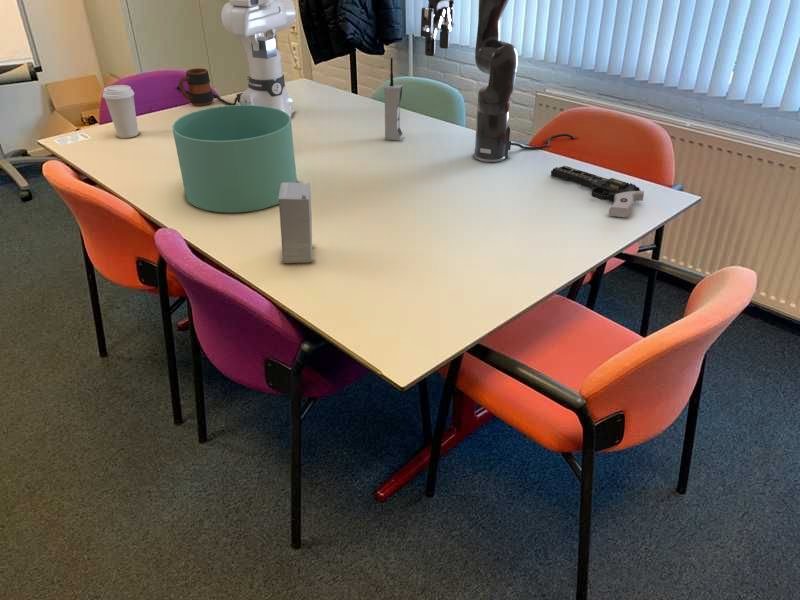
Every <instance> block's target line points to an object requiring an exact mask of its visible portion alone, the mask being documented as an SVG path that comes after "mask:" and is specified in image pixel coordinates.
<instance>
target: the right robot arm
mask: <svg viewBox="0 0 800 600" xmlns="http://www.w3.org/2000/svg"><path fill="white" fill-rule="evenodd" d="M427 1H428V3H427V7H422V8H421V12H420V13H421V15H420V37H422V38H424V39H425V40H424V43H425V44H424V45H425V46H424V48H425V49H424V50H425V51H424V54H425V56H426V57H434V56H435V55H436V41H437V39H436V37H437V34H438V31H439V48H441V49H449V48H450V37H451V36H450V32H452V28H454V27H455V11H456V9H455V7H456V5H455V4H456V2H455V0H427ZM509 1H510V0H478V11H477V13H478V15H477V28H476V29H477V30H476V40H475V49H474V60H475V61H474V62H475V65H476V67H477V69H478V70H479V71H480V72H481V73H484V74H487V75H489V77H488V78H489V79H488V84H487V85H486V86H482V87H480V88H479V89H478V94H477V108H476V125H475V139H474V141H475V142H474V153H473V158H474V159H476V160H477V161H481V162H484V163H497V162H502V161H504V160H505V159H508V158H509V151H511V149H512V146H516V147H519V148H520V149H522V150H543V149H546V148H549V146H550V140H553V139H557V138H560V137H568V138H571V139H572V140H576V138H575V137H574V135H572V134H569V133H560V134H559V133H558V134H555V135H551V136H549V137H547V138H546V140H545V141H546V144H544V145H540V146H524V145H522V144H520V143H518V142H512V141H511V140H510V137H511V136H510V135H511V127H510V125H509V117H510V107H511V106H510V105H511V96H512V94H513V93H514V90H515V85H516V78H517V71H518V64H519V57H518V56H519V55H518V51H517V48H516V47H515V45H513V44H512V43H510V42H506V41H502V40H501V20H502V16H503V14H504V11H505V9H506V7H507V5H508V3H509Z"/></svg>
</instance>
